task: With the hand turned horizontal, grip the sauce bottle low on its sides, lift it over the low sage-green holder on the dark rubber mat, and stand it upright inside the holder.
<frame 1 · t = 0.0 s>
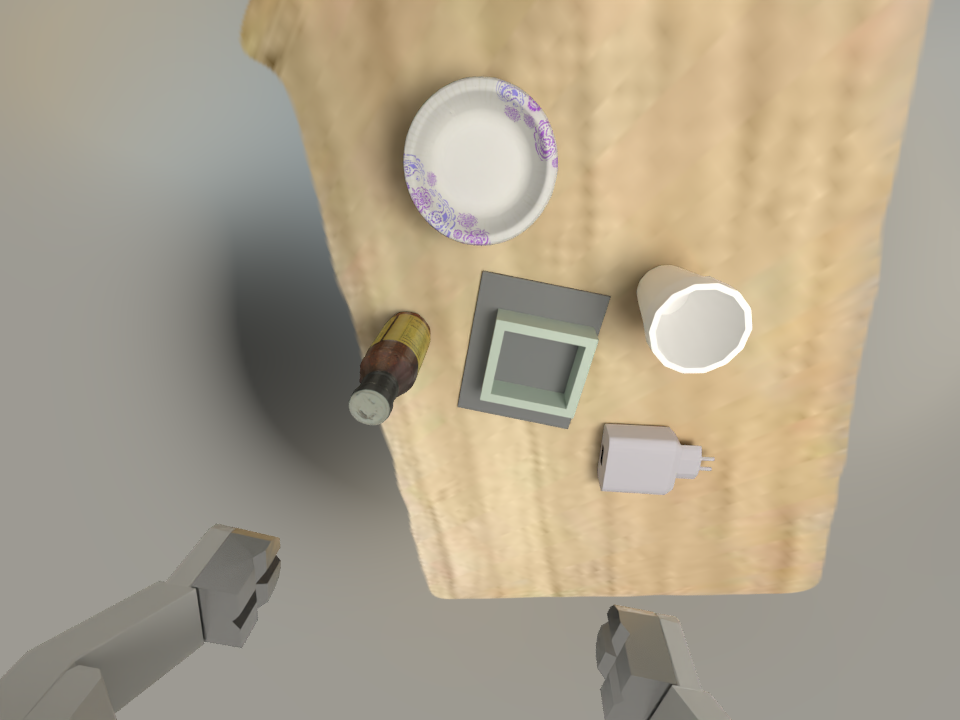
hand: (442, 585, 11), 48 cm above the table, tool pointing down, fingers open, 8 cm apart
charger: (652, 449, 66), on the table
paper bowls: (485, 163, 51), on the table
bottle holder: (535, 356, 61), resting on mat
foam cup: (662, 289, 56), on the table
sauce bottle: (411, 330, 61), on the table
mat: (528, 354, 61), on the table
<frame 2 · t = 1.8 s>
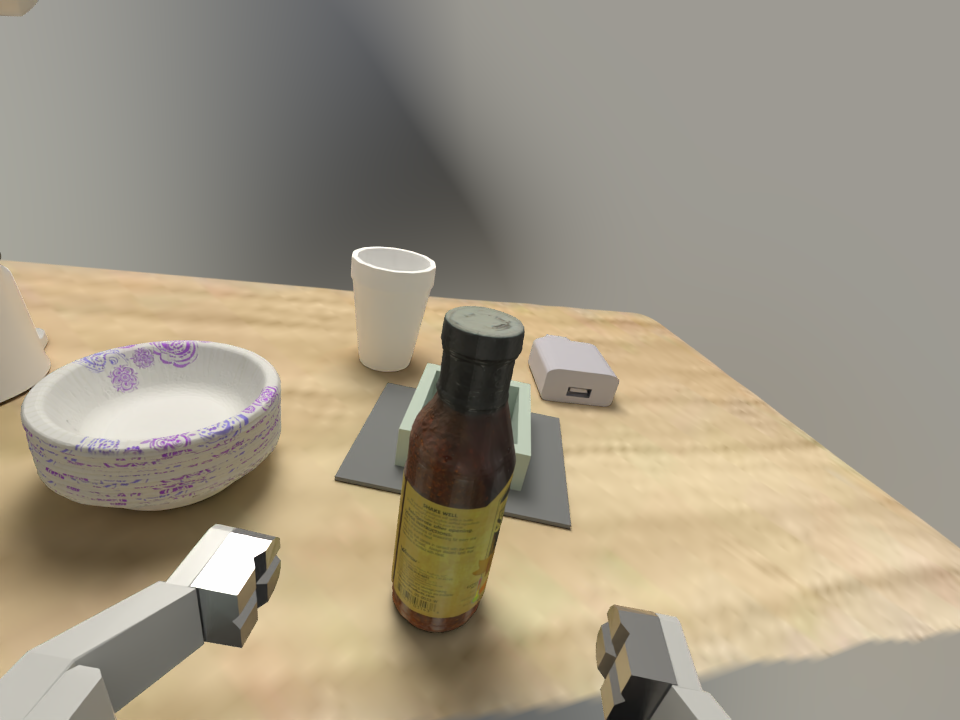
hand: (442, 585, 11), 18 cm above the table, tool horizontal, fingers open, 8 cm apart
charger: (560, 376, 63), on the table
paper bowls: (178, 468, 36), on the table
bottle holder: (465, 439, 46), resting on mat
foam cup: (384, 360, 58), on the table
sauce bottle: (434, 591, 31), on the table
mat: (464, 445, 45), on the table
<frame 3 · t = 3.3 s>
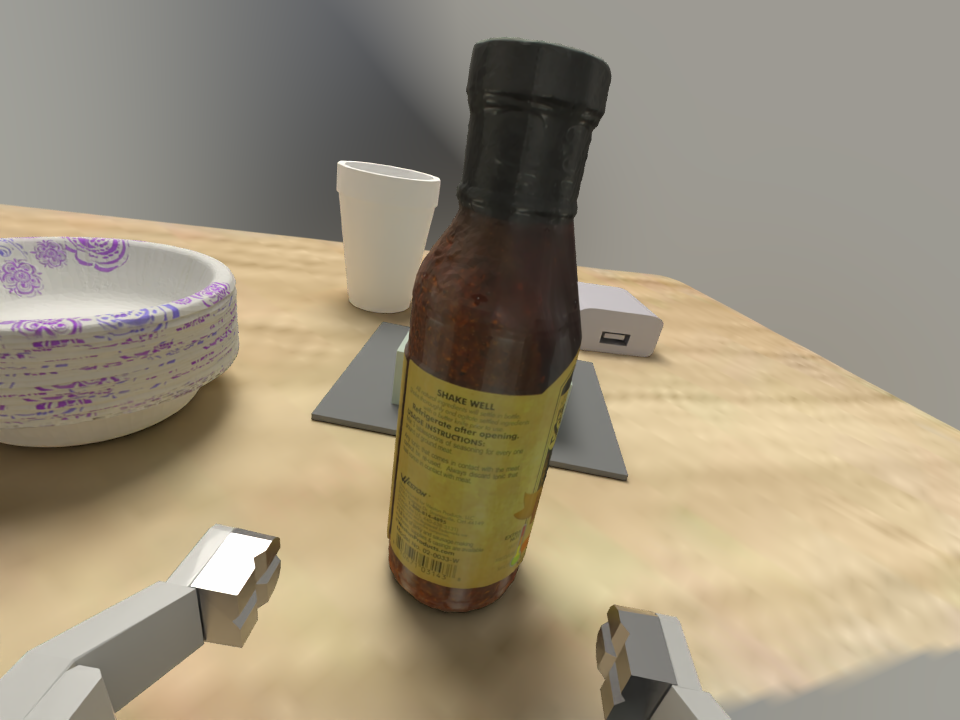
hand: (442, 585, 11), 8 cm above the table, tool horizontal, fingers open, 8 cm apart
charger: (586, 327, 53), on the table
paper bowls: (96, 401, 27), on the table
bottle holder: (480, 381, 37), resting on mat
foam cup: (379, 303, 48), on the table
sauce bottle: (449, 557, 21), on the table
mat: (479, 387, 36), on the table
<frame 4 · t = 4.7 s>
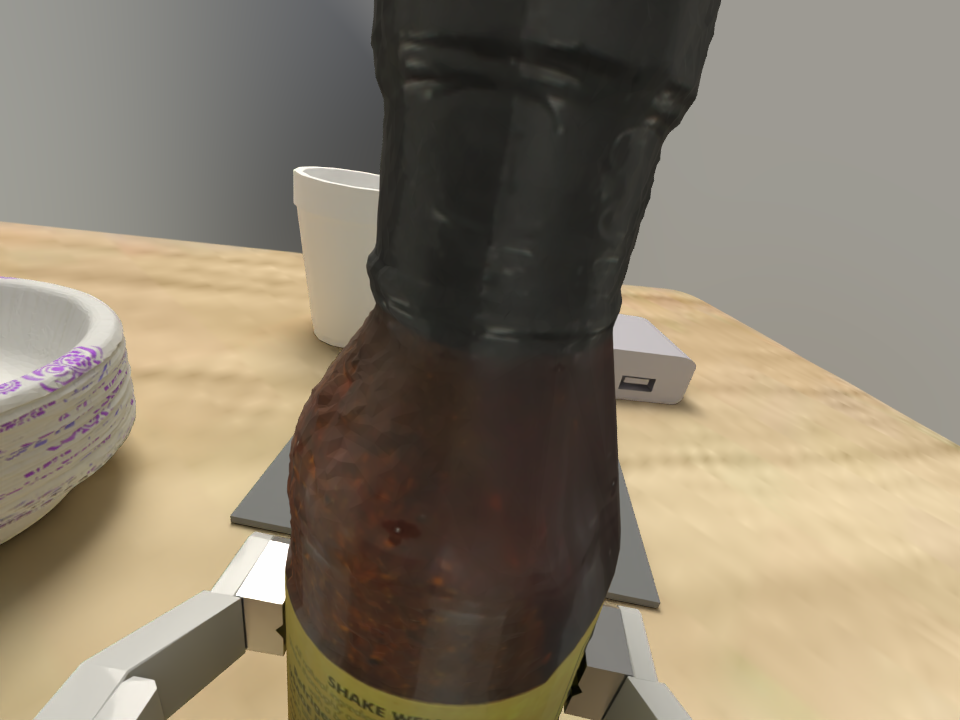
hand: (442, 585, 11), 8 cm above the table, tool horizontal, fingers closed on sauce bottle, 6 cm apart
charger: (599, 363, 46), on the table
foam cup: (351, 334, 41), on the table
mat: (464, 456, 28), on the table
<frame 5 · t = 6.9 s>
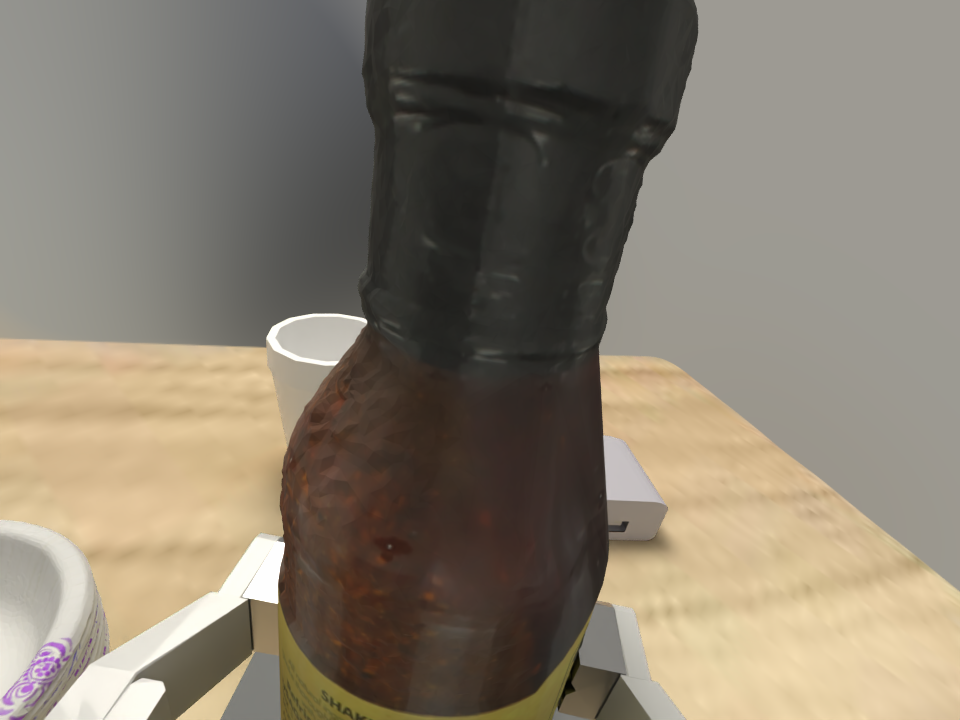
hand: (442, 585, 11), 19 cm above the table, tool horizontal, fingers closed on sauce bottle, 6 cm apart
charger: (576, 482, 46), on the table
foam cup: (329, 466, 42), on the table
mat: (432, 638, 29), on the table
when the fingers open (10 cm above the table, at t = 9.0 s): sauce bottle moves 2 cm, resting on bottle holder.
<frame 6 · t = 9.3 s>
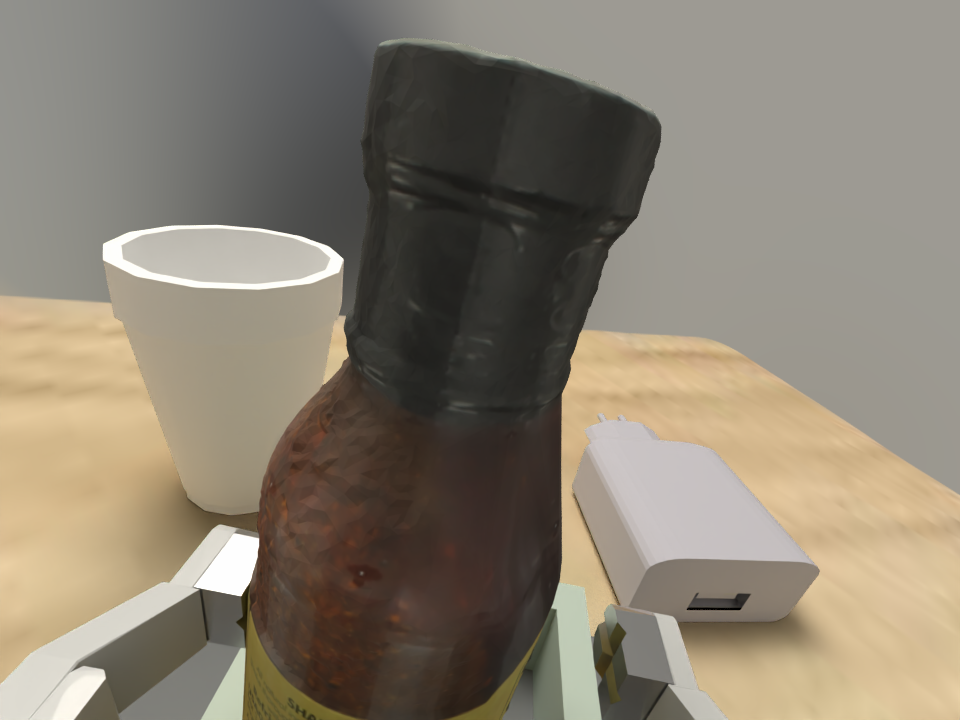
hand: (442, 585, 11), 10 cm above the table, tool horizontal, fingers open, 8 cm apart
charger: (639, 515, 30), on the table
foam cup: (249, 476, 26), on the table
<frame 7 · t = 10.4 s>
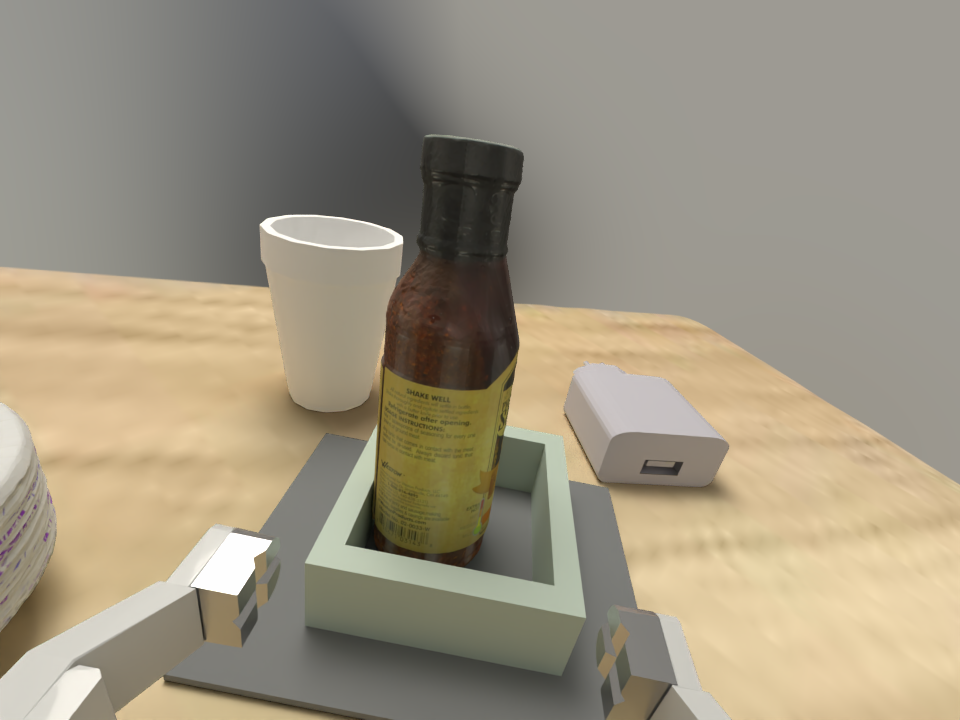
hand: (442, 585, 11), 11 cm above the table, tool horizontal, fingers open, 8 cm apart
charger: (613, 429, 40), on the table
bottle holder: (451, 544, 26), resting on mat
foam cup: (330, 392, 37), on the table
sauce bottle: (426, 536, 25), resting on mat
mat: (449, 559, 25), on the table
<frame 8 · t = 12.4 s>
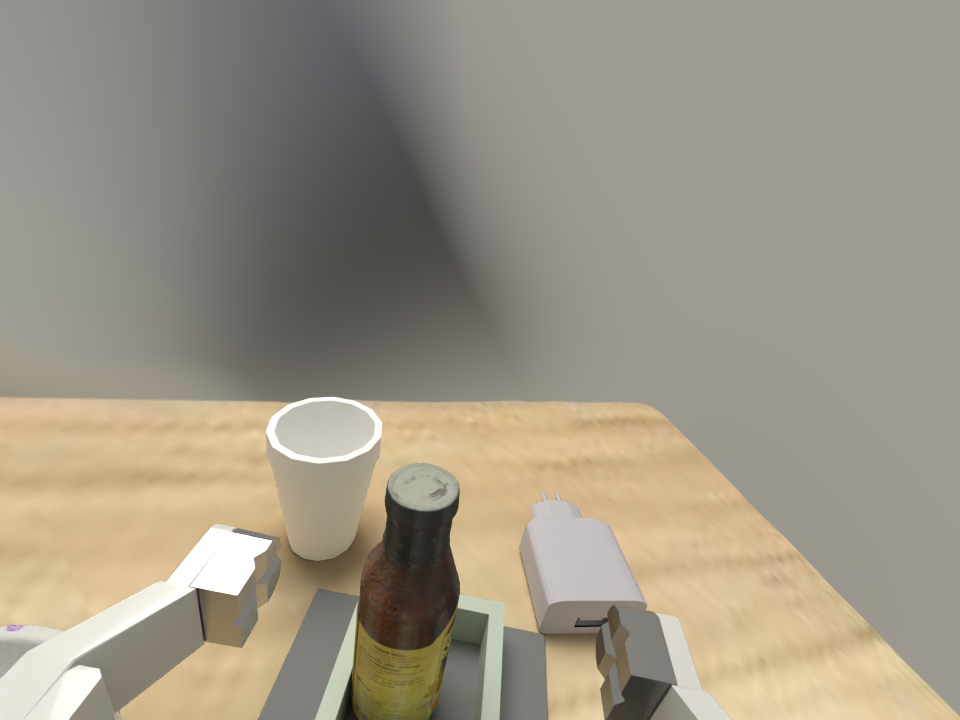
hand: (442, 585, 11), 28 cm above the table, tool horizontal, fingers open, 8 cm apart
charger: (561, 564, 48), on the table
bottle holder: (412, 703, 33), resting on mat
foam cup: (322, 535, 45), on the table
sauce bottle: (392, 700, 33), resting on mat
mat: (409, 719, 33), on the table
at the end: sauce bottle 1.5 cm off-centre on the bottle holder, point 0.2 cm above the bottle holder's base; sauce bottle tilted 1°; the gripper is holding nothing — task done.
